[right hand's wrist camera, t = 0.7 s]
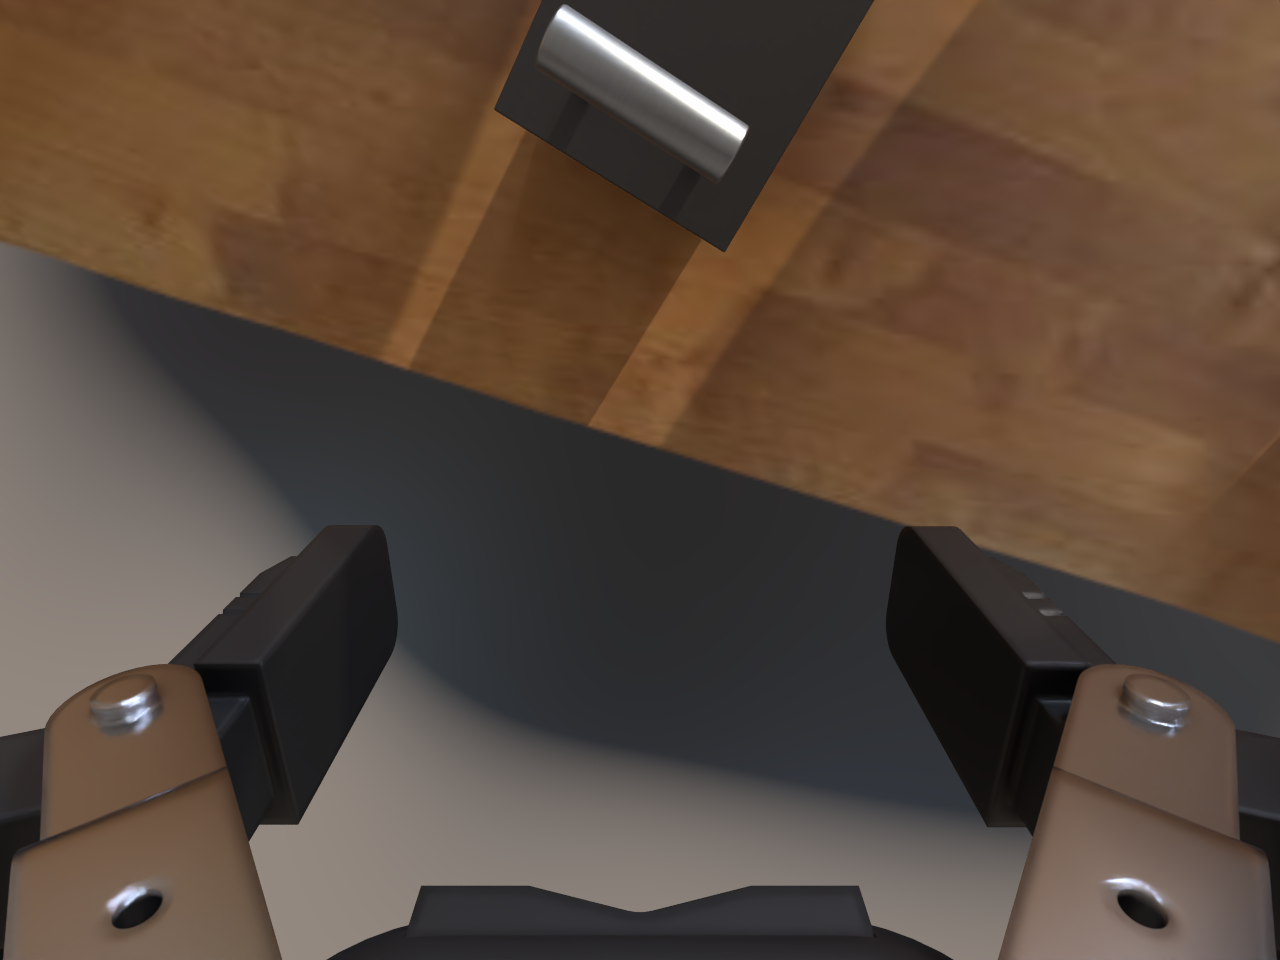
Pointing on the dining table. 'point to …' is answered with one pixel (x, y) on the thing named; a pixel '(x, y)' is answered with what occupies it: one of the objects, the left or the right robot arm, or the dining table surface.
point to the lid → (678, 94)
